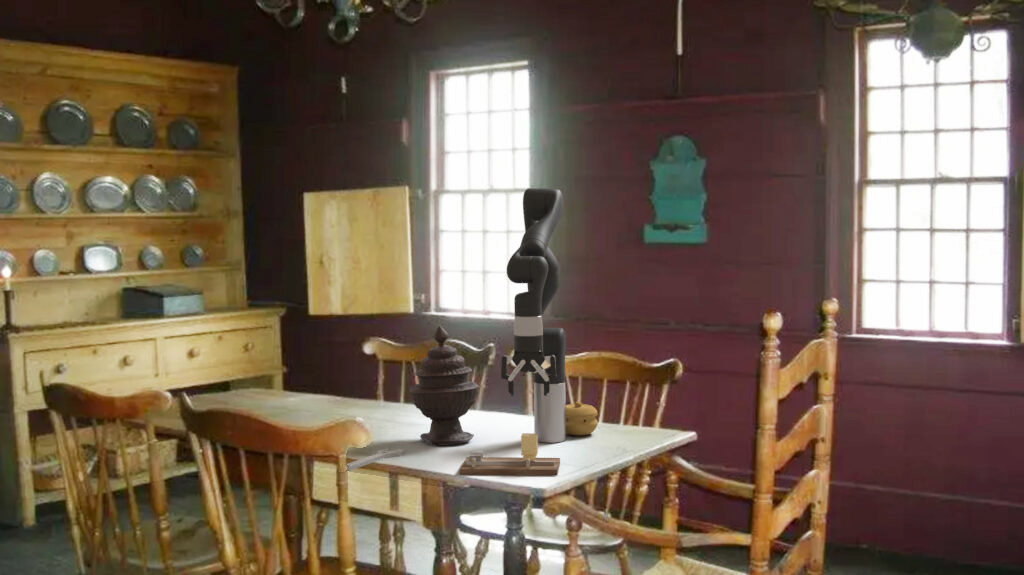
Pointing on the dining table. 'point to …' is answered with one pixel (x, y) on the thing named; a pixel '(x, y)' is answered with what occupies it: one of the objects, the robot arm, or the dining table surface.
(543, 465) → the wooden slider board
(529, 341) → the robot arm
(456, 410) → the decorative urn
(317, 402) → the dining table surface
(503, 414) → the dining table surface
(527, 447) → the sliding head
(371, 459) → the adjustable wrench
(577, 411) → the pot
